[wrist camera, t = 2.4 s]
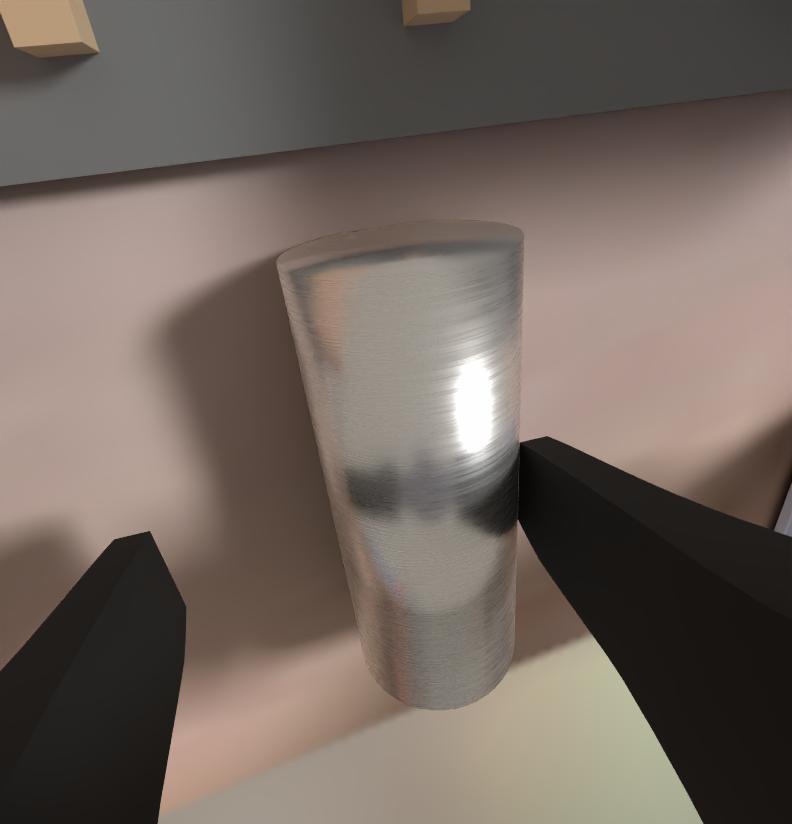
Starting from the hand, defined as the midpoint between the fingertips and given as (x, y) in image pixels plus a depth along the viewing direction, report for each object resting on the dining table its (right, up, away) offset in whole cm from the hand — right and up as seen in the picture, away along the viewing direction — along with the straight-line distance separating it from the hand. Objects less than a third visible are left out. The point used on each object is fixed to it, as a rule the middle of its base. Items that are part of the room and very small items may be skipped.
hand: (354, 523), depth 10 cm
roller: (0, +1, +2) cm, 2 cm away
